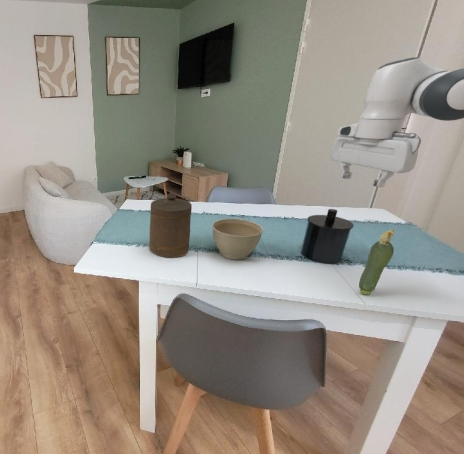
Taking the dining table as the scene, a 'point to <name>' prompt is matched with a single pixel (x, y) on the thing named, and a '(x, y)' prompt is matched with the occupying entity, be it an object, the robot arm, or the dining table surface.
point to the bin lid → (330, 221)
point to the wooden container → (170, 226)
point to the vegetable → (376, 262)
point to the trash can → (324, 244)
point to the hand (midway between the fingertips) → (361, 182)
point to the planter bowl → (236, 237)
